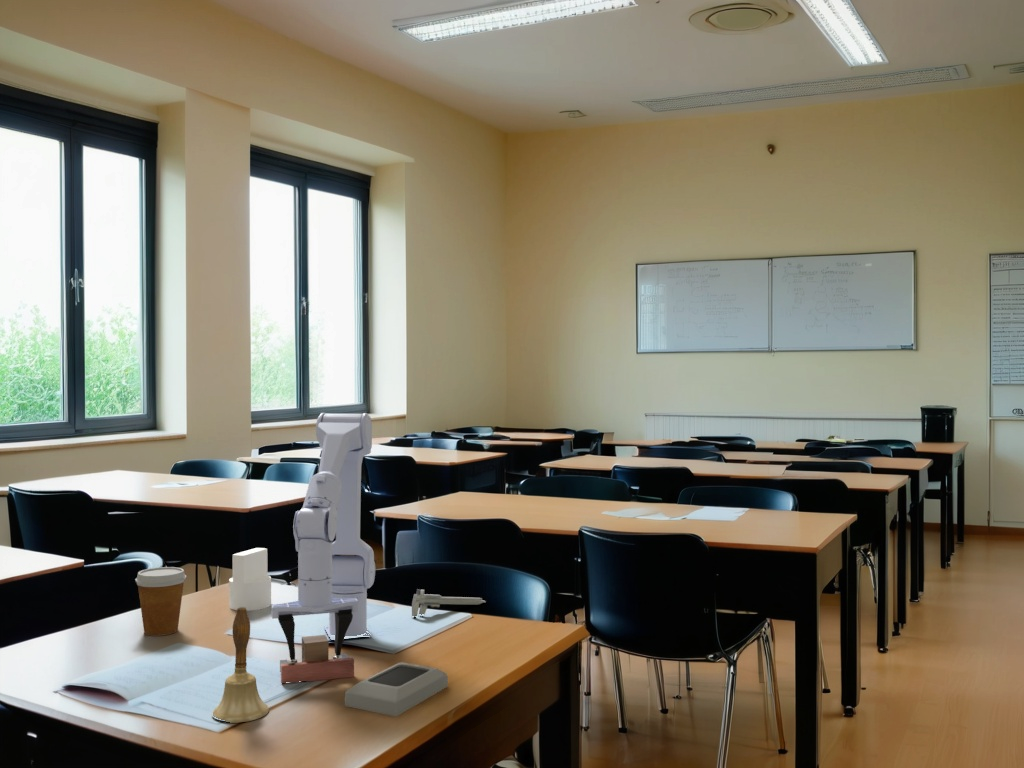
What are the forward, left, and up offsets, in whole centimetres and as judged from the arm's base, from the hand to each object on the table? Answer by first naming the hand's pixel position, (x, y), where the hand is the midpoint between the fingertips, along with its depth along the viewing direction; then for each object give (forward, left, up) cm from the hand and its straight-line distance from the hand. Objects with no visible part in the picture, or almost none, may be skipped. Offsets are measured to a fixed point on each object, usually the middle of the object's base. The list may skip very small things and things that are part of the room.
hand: (315, 656), depth 159 cm
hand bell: (+16, -13, -3) cm, 20 cm away
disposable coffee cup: (-36, -26, -3) cm, 44 cm away
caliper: (-34, +33, -3) cm, 47 cm away
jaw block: (0, 0, -3) cm, 3 cm away
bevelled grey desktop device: (+16, +11, -4) cm, 20 cm away
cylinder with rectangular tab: (-52, -8, -3) cm, 52 cm away
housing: (0, 0, -3) cm, 3 cm away
